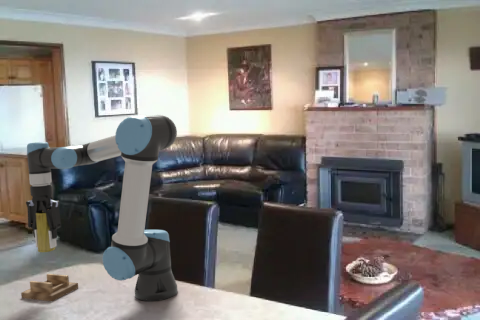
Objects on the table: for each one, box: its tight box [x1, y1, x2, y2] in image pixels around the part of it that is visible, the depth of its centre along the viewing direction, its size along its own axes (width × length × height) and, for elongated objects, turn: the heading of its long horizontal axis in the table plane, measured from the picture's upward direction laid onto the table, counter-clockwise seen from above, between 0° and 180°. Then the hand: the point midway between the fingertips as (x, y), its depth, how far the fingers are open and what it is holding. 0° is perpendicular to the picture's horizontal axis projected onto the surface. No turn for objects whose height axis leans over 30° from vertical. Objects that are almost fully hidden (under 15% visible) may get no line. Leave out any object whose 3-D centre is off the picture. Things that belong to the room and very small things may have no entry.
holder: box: [20, 273, 79, 302], centre depth 187 cm, size 14×14×6 cm
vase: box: [36, 211, 56, 253], centre depth 186 cm, size 6×6×14 cm
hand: (46, 246), depth 186 cm, fingers closed on vase, 6 cm apart
